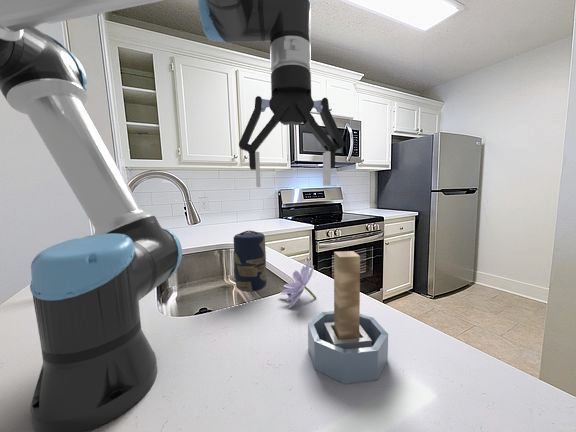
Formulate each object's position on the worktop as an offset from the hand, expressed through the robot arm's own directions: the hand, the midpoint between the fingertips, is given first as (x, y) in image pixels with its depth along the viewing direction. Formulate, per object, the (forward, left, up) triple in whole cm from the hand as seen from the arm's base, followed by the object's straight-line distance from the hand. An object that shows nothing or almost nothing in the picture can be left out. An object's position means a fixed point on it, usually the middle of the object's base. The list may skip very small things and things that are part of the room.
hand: (293, 186), depth 48 cm
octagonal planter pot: (+8, -8, -31) cm, 33 cm away
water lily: (+3, +16, -31) cm, 35 cm away
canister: (-10, +26, -31) cm, 42 cm away
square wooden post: (+8, -8, -30) cm, 32 cm away
